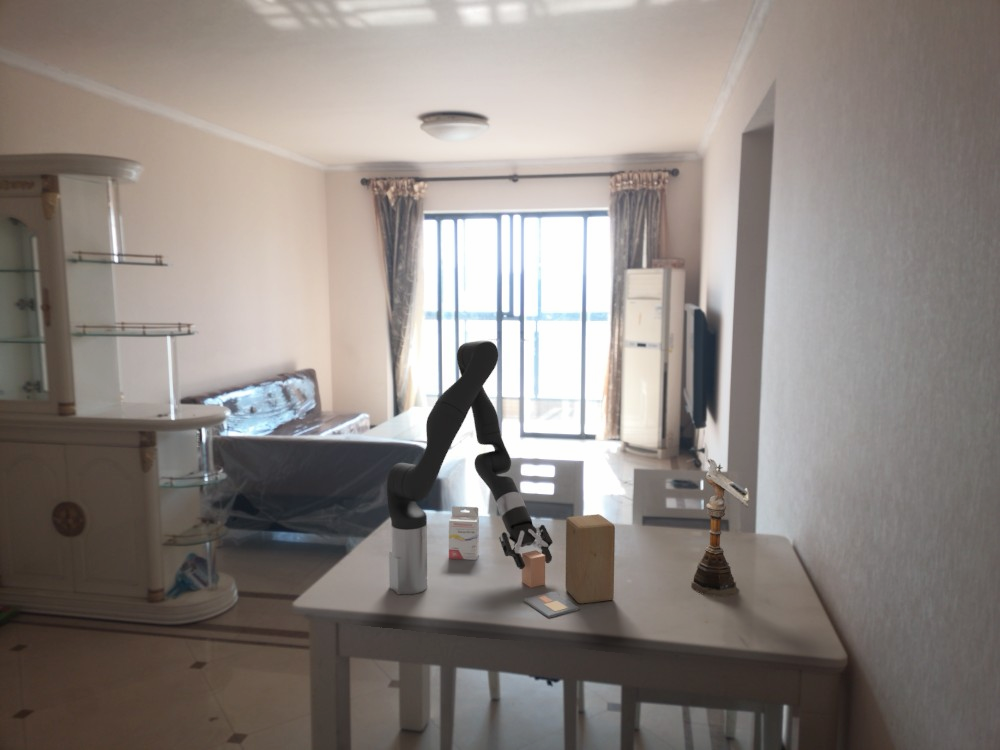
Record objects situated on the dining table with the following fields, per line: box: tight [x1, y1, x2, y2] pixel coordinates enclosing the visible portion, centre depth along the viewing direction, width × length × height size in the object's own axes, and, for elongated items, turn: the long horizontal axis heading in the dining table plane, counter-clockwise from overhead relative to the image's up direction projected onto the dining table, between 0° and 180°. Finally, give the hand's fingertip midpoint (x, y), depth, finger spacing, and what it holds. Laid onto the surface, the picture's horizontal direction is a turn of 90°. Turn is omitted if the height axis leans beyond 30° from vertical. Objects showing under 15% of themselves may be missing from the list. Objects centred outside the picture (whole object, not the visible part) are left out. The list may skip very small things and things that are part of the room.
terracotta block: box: [521, 550, 546, 589], centre depth 188 cm, size 4×4×8 cm
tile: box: [523, 591, 580, 619], centre depth 174 cm, size 9×11×1 cm
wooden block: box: [565, 514, 616, 604], centre depth 179 cm, size 10×10×20 cm
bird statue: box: [690, 458, 750, 597], centre depth 184 cm, size 17×13×35 cm
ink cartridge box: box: [448, 505, 480, 561], centre depth 207 cm, size 9×5×15 cm, turn 84°
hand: (536, 564), depth 187 cm, fingers open, 8 cm apart
